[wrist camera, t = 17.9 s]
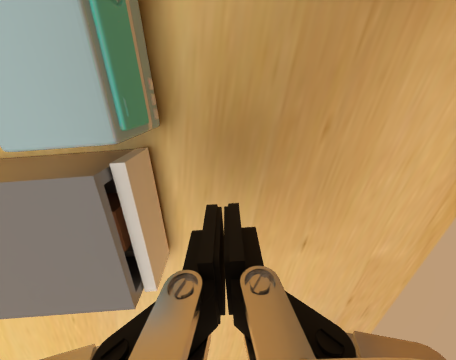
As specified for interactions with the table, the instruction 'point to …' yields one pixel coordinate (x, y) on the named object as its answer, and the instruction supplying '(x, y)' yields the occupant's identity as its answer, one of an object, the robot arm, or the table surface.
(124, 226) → the block
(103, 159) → the housing
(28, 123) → the radio
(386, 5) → the table surface
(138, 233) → the light grey drawer
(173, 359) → the robot arm
